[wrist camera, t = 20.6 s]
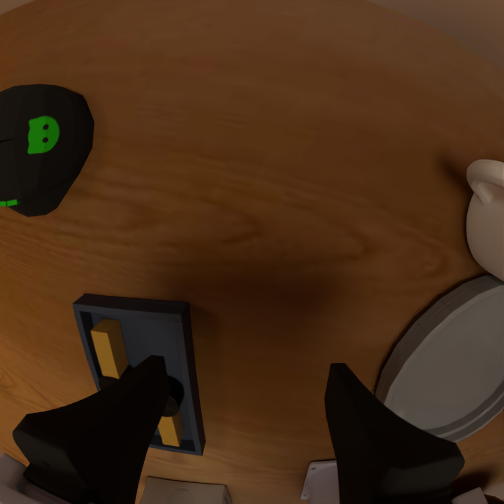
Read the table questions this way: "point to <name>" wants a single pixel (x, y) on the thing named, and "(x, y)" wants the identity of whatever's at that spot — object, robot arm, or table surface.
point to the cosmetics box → (183, 493)
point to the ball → (491, 499)
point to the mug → (487, 215)
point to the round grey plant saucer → (451, 363)
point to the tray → (150, 351)
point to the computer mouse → (41, 145)
